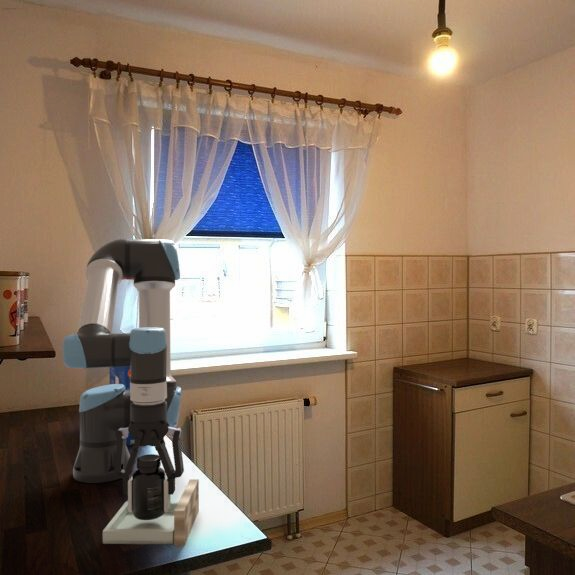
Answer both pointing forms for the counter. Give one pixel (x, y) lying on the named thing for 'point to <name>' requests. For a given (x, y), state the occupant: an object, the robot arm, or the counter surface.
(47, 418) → the counter surface
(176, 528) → the backstop wall
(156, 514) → the supplement bottle
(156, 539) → the sliding tray
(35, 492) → the counter surface
